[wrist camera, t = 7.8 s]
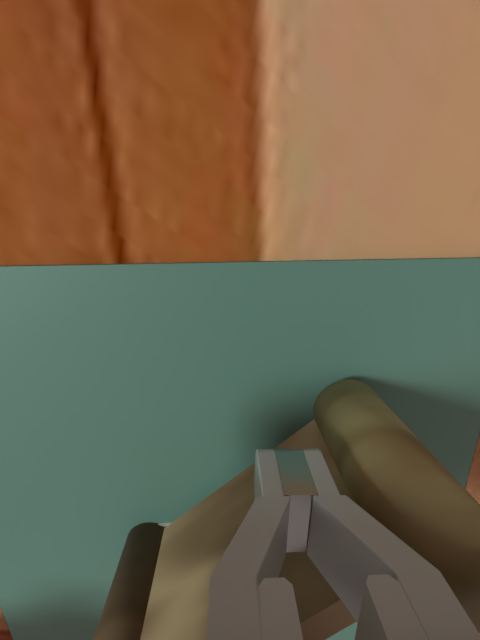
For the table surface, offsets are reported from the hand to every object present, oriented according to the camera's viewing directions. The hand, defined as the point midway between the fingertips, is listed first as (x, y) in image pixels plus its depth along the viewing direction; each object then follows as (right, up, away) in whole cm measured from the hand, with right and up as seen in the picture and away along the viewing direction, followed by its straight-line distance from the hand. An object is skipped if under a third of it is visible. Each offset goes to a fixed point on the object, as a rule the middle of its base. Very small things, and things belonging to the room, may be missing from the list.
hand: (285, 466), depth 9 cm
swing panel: (0, -2, +4) cm, 4 cm away
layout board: (-2, -5, +5) cm, 8 cm away
